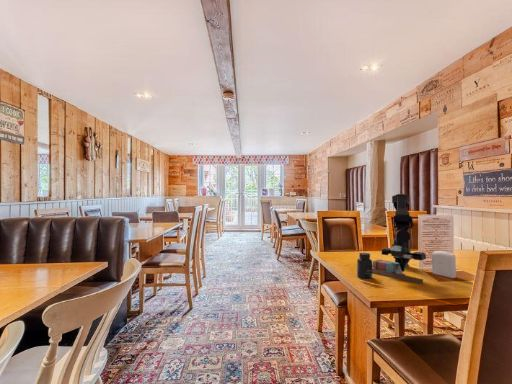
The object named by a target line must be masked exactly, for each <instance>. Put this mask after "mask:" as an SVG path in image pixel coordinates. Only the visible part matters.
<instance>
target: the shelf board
mask: <svg viewBox="0 0 512 384" xmlns="http://www.w3.org/2000/svg"><path fill="white" fill-rule="evenodd" d="M382 260H383V259H380V258H379V259H376V260H372V263H373V267H372V274H376V275H380V276H385V277H389V278H392V279H393V278H394V279H398V280H403V281H405V282H410V283H411V282H412V283H415V284H419V285H423V284H424V279H422V278H418V277H414V276H409V275H406V274H405V275H401V274H396V273H391V272H387V271H382V270H378V269H377V262H378V261H382Z"/></svg>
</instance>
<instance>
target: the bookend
mask: <svg viewBox="0 0 512 384" xmlns="http://www.w3.org/2000/svg"><path fill="white" fill-rule="evenodd" d="M393 273H396V274H401V275H405V276H406V273H403V272H402V270H401V267H400V265H399V263H398V264H395V265H393Z"/></svg>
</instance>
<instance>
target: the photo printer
mask: <svg viewBox="0 0 512 384" xmlns="http://www.w3.org/2000/svg"><path fill="white" fill-rule="evenodd" d="M456 259H457V257H456V255H455V254H453V253H451V252H449V251H445V250H435V251H432V254H431V268H432V269H431V270H432V274H435V275H438V276H442V277H446V278H449V279H450V278H451V279H456V277H457V267H456V266H457V265H456V264H457V263H456V262H457V261H456Z"/></svg>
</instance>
